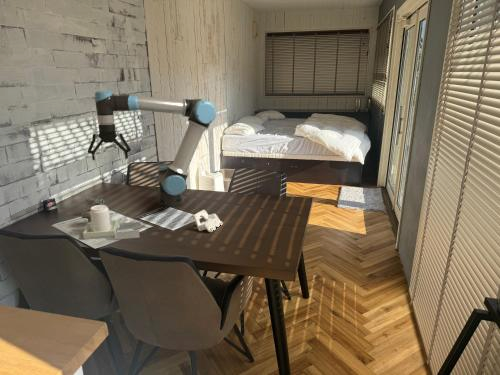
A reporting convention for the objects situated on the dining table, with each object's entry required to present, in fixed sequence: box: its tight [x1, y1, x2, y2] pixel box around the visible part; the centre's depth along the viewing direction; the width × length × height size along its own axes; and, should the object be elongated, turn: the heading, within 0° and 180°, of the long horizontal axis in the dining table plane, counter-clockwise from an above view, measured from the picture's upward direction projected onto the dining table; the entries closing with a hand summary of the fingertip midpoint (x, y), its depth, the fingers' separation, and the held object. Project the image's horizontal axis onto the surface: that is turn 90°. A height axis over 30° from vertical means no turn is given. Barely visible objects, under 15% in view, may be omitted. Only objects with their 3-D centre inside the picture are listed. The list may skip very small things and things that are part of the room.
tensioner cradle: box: [115, 221, 142, 240], centre depth 166 cm, size 10×12×3 cm
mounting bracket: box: [193, 209, 224, 233], centre depth 172 cm, size 12×6×11 cm, turn 151°
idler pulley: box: [80, 209, 91, 224], centre depth 174 cm, size 7×7×7 cm
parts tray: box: [82, 219, 119, 240], centre depth 167 cm, size 14×14×3 cm
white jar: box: [89, 204, 111, 232], centre depth 166 cm, size 8×8×12 cm
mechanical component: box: [85, 196, 105, 207], centre depth 185 cm, size 3×10×10 cm, turn 79°
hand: (111, 165), depth 176 cm, fingers open, 13 cm apart
